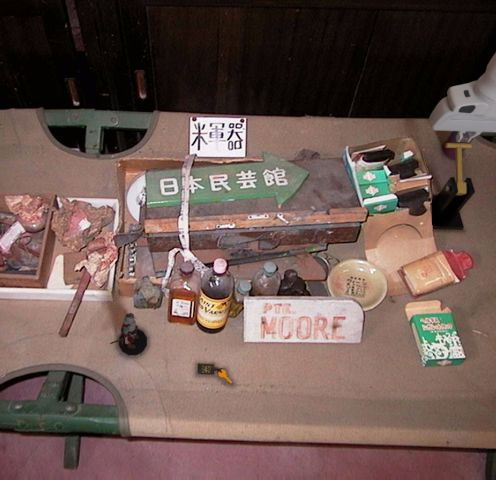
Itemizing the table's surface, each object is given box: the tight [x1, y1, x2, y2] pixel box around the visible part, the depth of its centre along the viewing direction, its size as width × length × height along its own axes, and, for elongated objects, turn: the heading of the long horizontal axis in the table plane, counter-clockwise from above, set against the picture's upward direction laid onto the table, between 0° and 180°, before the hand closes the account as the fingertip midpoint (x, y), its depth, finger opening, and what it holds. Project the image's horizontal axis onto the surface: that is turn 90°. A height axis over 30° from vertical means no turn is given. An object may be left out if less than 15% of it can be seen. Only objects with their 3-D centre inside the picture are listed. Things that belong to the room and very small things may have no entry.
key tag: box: [197, 363, 233, 384], centre depth 117 cm, size 8×3×1 cm, turn 73°
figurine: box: [109, 312, 148, 356], centre depth 115 cm, size 7×7×15 cm
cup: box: [442, 131, 476, 159], centre depth 144 cm, size 7×7×15 cm
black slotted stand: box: [431, 176, 476, 231], centre depth 134 cm, size 10×9×13 cm
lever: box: [444, 142, 473, 195], centre depth 131 cm, size 13×6×2 cm, turn 177°
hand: (462, 140), depth 130 cm, fingers closed
